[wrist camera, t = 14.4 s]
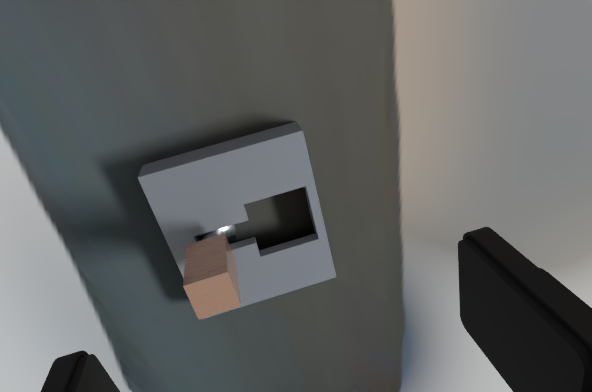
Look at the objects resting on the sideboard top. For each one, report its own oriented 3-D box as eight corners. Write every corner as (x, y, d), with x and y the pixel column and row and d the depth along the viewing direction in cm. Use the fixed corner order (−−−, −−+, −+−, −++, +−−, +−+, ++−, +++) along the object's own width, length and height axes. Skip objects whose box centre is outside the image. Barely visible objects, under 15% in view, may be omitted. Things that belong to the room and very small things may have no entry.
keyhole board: (143, 164, 37) (137, 177, 35) (295, 121, 39) (302, 130, 36) (202, 299, 45) (202, 319, 42) (328, 260, 46) (336, 277, 43)
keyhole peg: (180, 215, 40) (172, 282, 31) (226, 201, 41) (232, 263, 31) (197, 253, 43) (194, 326, 33) (240, 239, 43) (250, 308, 33)
